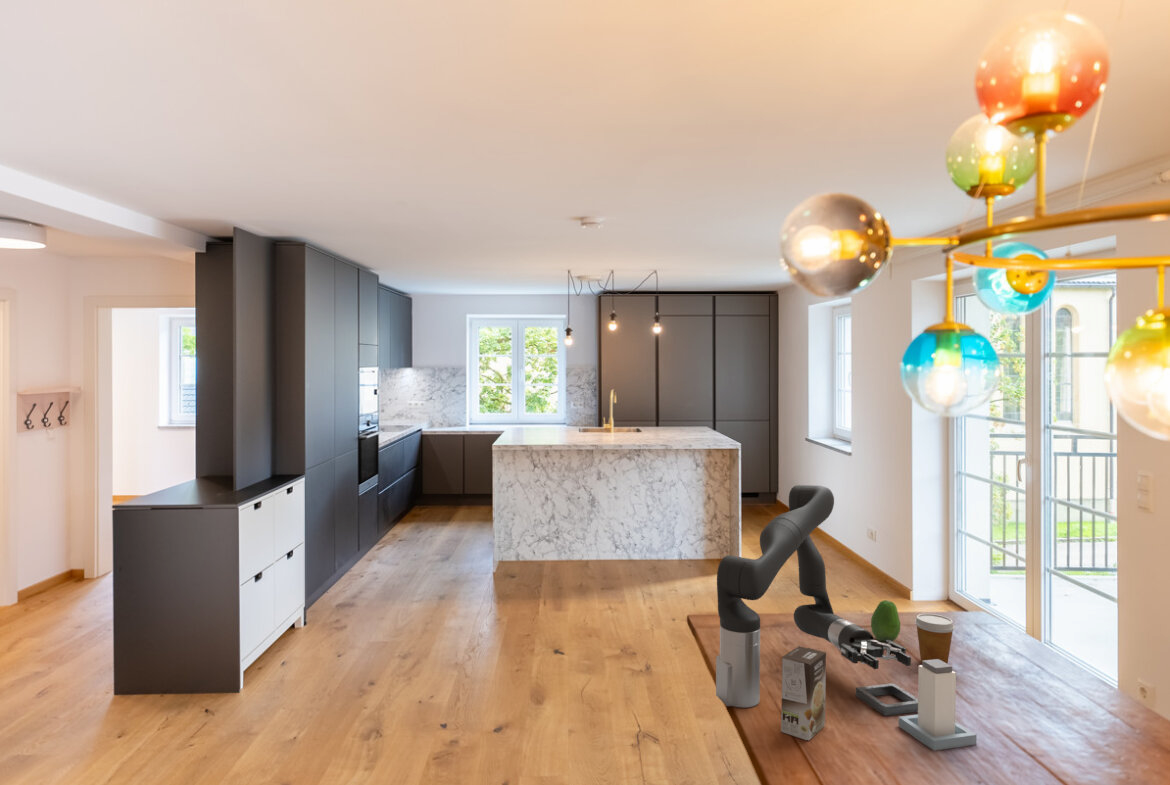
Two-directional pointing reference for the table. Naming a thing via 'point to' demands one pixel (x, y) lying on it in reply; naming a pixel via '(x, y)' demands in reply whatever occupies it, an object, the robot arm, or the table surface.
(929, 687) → the plug
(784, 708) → the coffee box
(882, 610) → the avocado
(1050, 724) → the table surface
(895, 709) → the back socket
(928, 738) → the front socket
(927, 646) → the disposable coffee cup
